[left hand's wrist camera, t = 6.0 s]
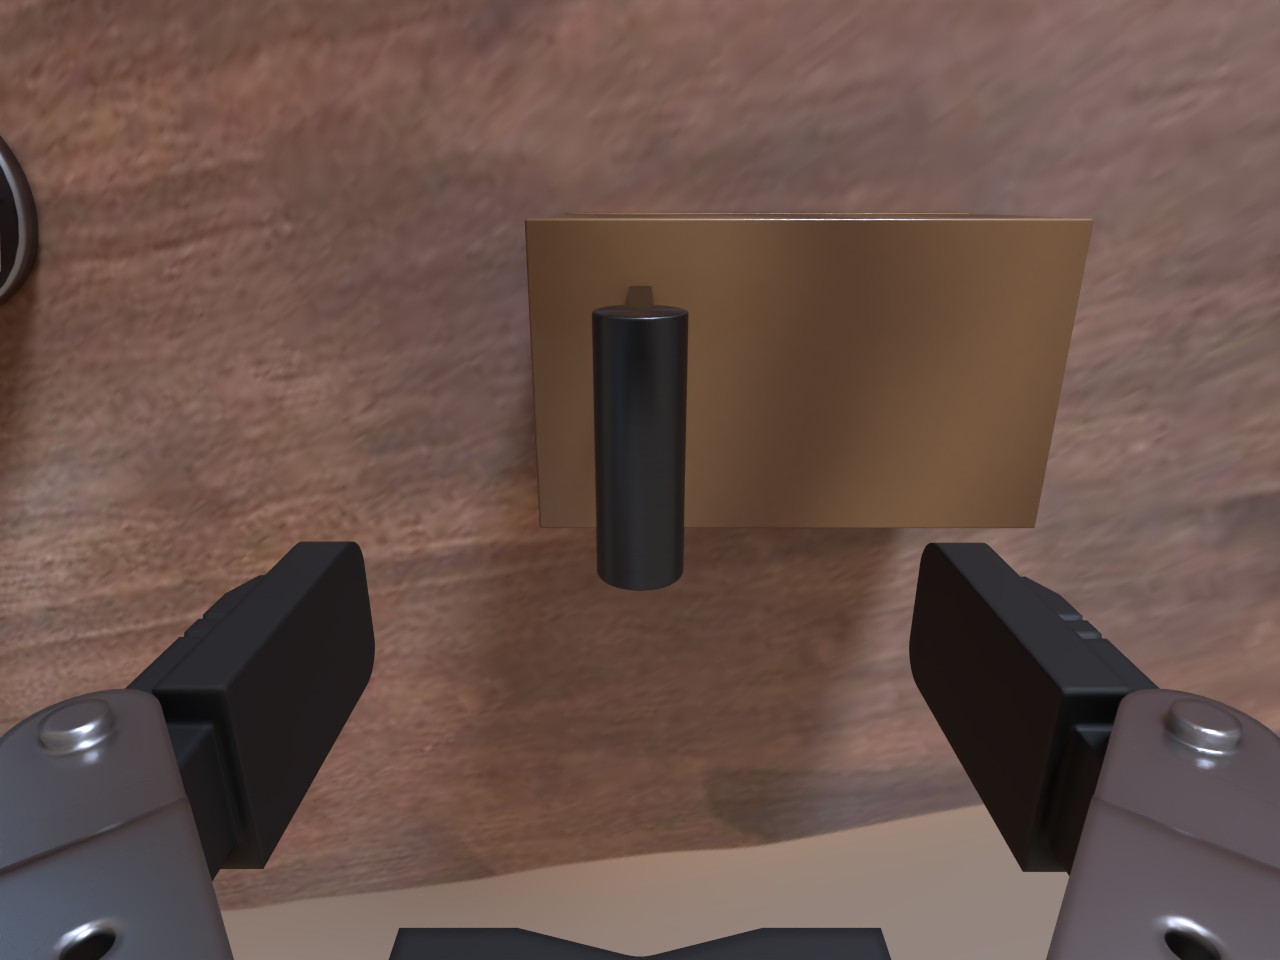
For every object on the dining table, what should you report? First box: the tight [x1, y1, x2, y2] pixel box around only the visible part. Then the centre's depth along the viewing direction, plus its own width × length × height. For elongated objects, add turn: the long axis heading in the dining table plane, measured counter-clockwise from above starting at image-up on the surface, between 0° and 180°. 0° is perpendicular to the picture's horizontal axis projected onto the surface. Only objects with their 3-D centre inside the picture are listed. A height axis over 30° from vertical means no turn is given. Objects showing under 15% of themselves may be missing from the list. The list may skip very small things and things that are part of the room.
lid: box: [525, 218, 1093, 591], centre depth 21 cm, size 17×10×9 cm, turn 90°
